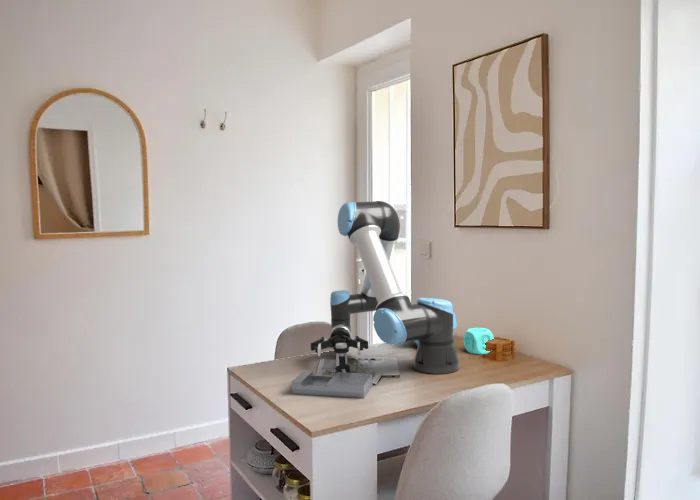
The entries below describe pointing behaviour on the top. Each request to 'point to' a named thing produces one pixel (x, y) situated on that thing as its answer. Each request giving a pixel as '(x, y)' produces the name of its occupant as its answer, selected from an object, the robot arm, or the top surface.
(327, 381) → the grey recessed block
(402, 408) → the top surface
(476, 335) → the decorative dice
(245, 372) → the top surface
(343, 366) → the push button
